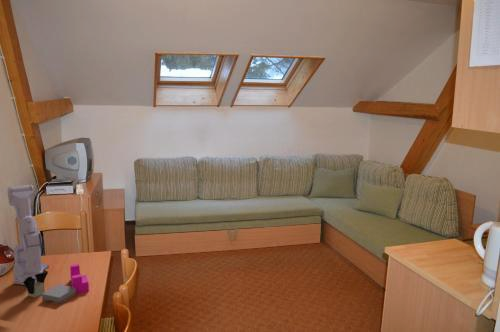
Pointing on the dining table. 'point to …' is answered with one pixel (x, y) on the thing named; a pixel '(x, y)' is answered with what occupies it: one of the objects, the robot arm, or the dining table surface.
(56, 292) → the slate top slab
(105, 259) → the dining table surface
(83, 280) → the toy block
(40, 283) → the sage cube
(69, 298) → the grey square slab
